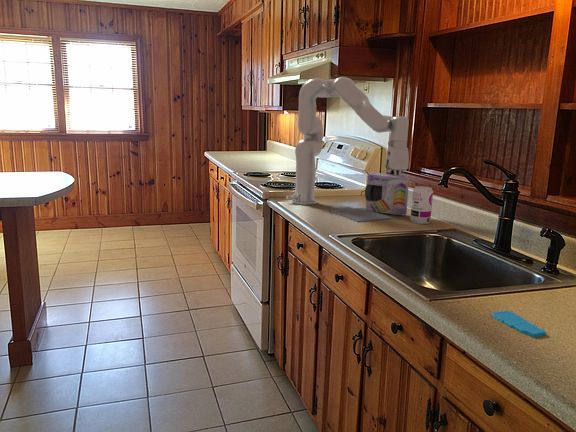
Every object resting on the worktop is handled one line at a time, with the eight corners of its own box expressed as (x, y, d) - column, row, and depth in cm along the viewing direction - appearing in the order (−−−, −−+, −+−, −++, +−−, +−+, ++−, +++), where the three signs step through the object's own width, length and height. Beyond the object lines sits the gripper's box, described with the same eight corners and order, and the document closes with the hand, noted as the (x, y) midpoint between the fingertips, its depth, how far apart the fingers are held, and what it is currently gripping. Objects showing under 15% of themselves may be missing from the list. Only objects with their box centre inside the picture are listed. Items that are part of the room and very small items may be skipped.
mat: (357, 222, 203) (357, 220, 203) (330, 211, 222) (330, 210, 222) (392, 218, 211) (392, 217, 211) (363, 208, 230) (364, 207, 230)
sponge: (525, 335, 102) (548, 330, 104) (488, 312, 114) (510, 308, 115) (525, 342, 103) (548, 336, 104) (488, 318, 114) (510, 313, 115)
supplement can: (431, 221, 208) (434, 187, 205) (428, 225, 201) (431, 189, 198) (412, 219, 212) (415, 185, 208) (408, 223, 204) (411, 188, 201)
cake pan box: (362, 210, 224) (366, 172, 219) (366, 207, 228) (370, 170, 223) (403, 217, 215) (408, 178, 210) (406, 214, 220) (411, 176, 215)
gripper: (390, 145, 211) (386, 186, 215) (416, 145, 217) (413, 185, 221) (379, 143, 217) (376, 184, 221) (405, 143, 224) (402, 182, 228)
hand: (394, 184), depth 221 cm, fingers closed
